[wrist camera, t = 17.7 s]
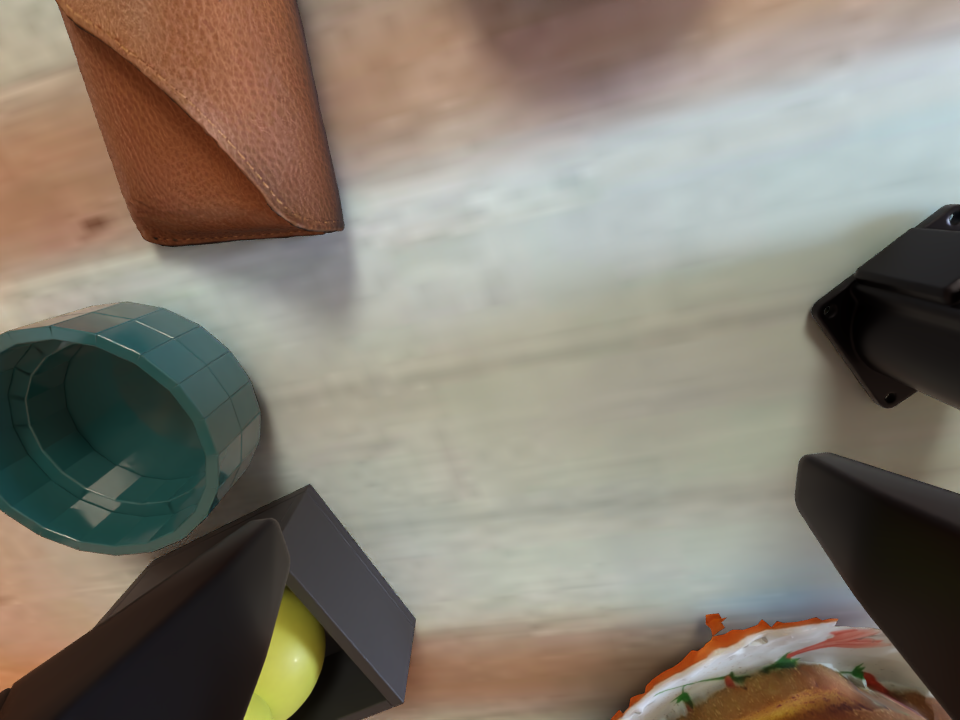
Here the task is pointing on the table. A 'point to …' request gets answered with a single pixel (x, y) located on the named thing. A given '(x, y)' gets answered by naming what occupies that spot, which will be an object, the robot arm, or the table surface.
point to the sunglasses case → (208, 117)
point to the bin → (324, 607)
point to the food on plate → (788, 677)
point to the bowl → (120, 427)
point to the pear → (289, 662)
